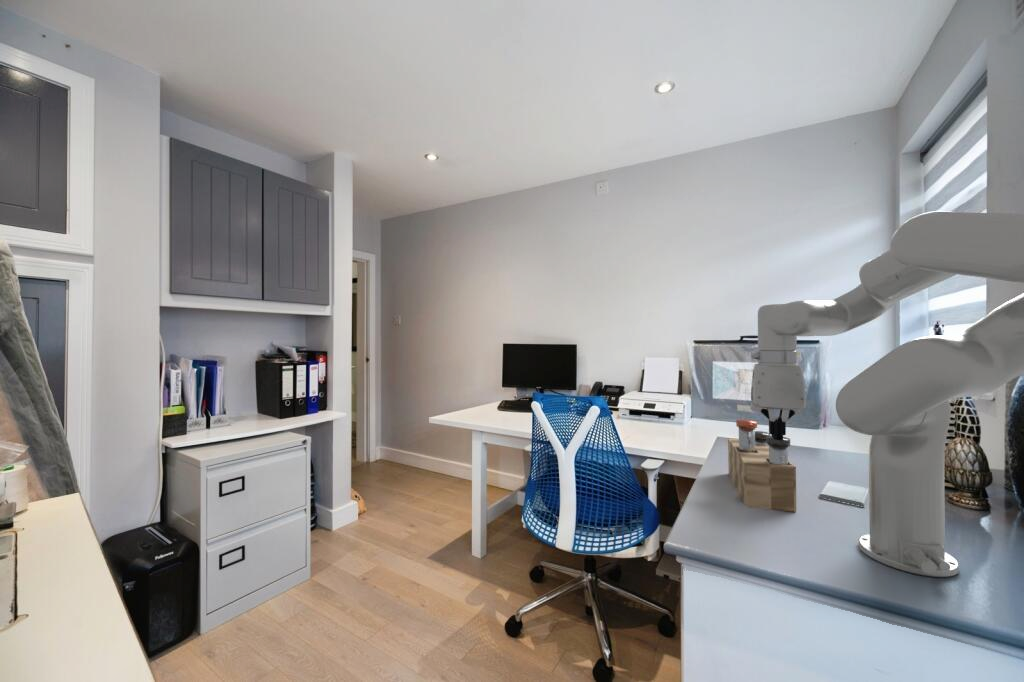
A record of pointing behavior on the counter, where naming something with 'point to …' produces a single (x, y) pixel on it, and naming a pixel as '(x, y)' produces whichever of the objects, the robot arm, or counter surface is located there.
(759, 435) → the plug far
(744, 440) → the plug mid
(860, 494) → the hard drive
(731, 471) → the socket block
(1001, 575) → the counter surface
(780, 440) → the plug near
